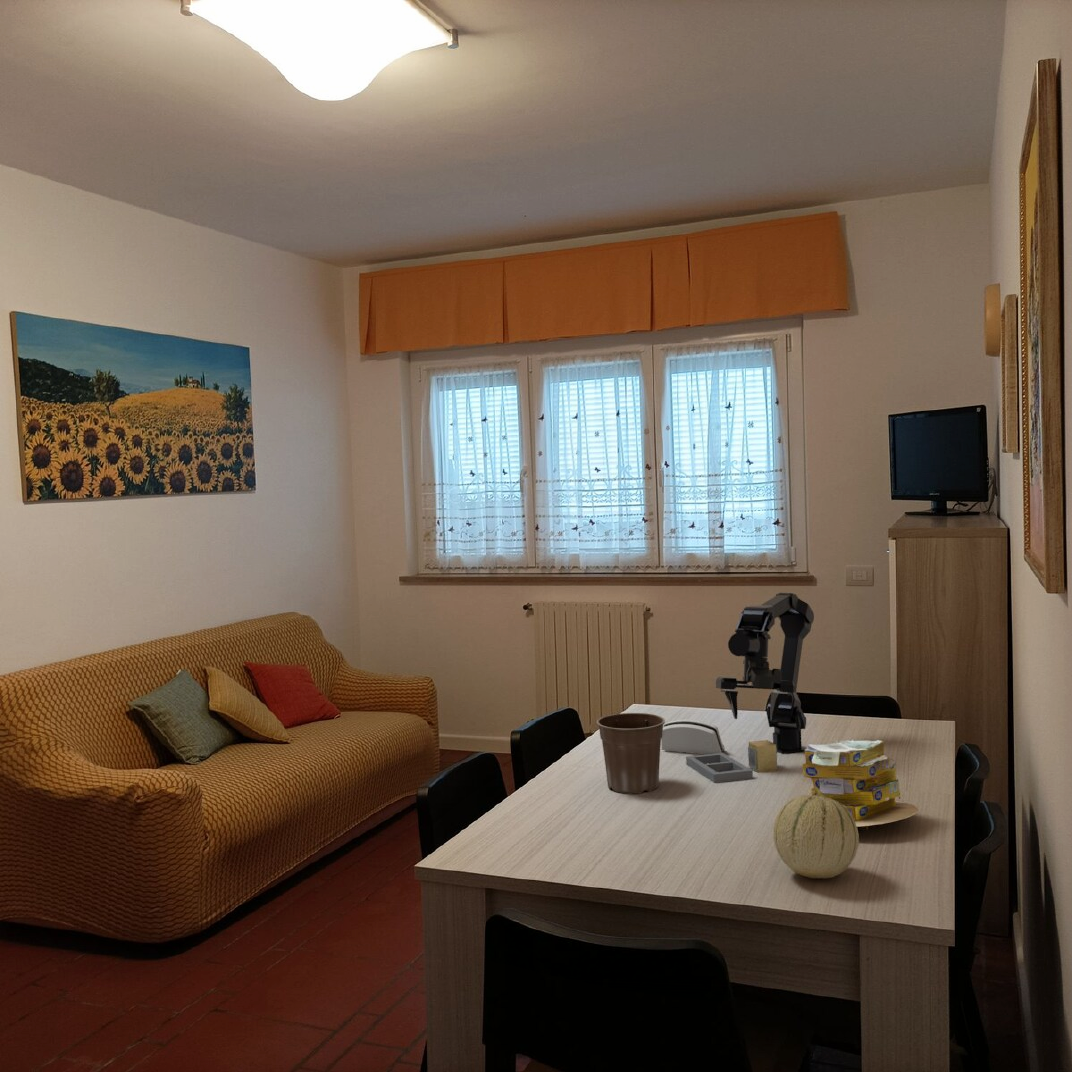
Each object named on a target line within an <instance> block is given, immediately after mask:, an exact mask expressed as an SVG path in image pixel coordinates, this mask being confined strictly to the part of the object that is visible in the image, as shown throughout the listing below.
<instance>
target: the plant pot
mask: <svg viewBox="0 0 1072 1072" xmlns="http://www.w3.org/2000/svg"><path fill="white" fill-rule="evenodd" d="M665 721H666V719H665V718H664V717H663V716H659V715H656V714H654V713H644V712H625V713H624V712H623V713H612V714H608V715H604V716H601V717H600V718H598V719H597V720H596V725H597V726H598V729H599V738H600V740H601V742H602V750H603V751H602V752H603V758H604V765H605V773H606V781H607V787H608V789H610V790H611V788H612V791H613V792H616V793H621V794H628V793H632V794H643V792H645V791H647V792H652V791H654V790H656V789H658V788H659V782H660V761H661V760H660V759H661V746H662V740H661V738H662V732H663V726H664V725H665V724H666V722H665Z"/></svg>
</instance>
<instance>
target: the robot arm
mask: <svg viewBox="0 0 1072 1072" xmlns="http://www.w3.org/2000/svg"><path fill="white" fill-rule="evenodd" d="M777 618H778V619H779V621H780V623H779V625H780V628H781V630H782V632H783V634H784V641H783V648H782V656H781V664H780V668H772V669H770V663H769V660H768V659H769V658H768V657H769V640H771V639H772V638H771V635H770V633H769V632H770V630H771V629H772V628H773V626H774V625H775V624H776V623H775V620H776V619H777ZM814 620H815V614H814V611H813V610H812V608H811V606H810V604H808V603H807V602H805V601H804V600H802V599H800V598H799V596H798V595H797V594H796V593H793V592H779V593H776V594H775V596H773V597H772V598H770V599H769V600H767V601H765V602H764V603H762V604H757V605H749V606H745V607H744V608H743V610H742V612H741V614H740V615H739V618H738V622H737V624H736V627H735V630H734V632H735V633H733V634H732V635H731V636H730V638H729V640H728V642H727V646H728V650H729V652H730V654H732V655H734V656H735V657H743V662H742V664H743V676H742V680H737V678H736V677H728V676H727V677H725V676H718V677H717V678H716V680H715V689H720V692H722V693H724V695H725V697H726V699H727V701H728V704H729V706H730V710H731V712H732V715H733V718H734V720H737V719H738V713H739V711H738V694H739V691H738V690H736V688H737V689H738V688H740V689H742V688H743V689H759V690H761V689H762V690H773V691H771V692H770V694H769V695H768V696H769V697H768V702H767V703H768V704H767V707H766V717H767V723H768V727H769V728H773V730H774V731H773V732H772V743H774V744H776V748H777V752H779V753H781V754H789V753H792V754H793V753H798V752H805V750H806V748H803V747H802V744H803V743H802V730H805V729H806V726H807V717H806V715H805V713H804V711H803V709H802V708H801V706H802V702H801V700H800V698H799V694H797V687H798V679H799V671H800V667H801V666H800V665H801V657H802V651H803V650H802V649H803V642H804V639H805V638H806V637H807V635H808V634H809V633H810V632H811V629H812V626H813V625H812V624H813V623H814Z"/></svg>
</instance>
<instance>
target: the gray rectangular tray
mask: <svg viewBox="0 0 1072 1072" xmlns="http://www.w3.org/2000/svg"><path fill="white" fill-rule="evenodd" d="M685 759H686V760H685V763H686V765H687V766H688V765H689V766H688V767H690V768H691V769H692V770H694V771H695V772H697V771H698V772H697V773H698V774H701V775H702V776H703V777H704V778H706V779H708V780H709V779H710V780H709V781H711V782H713V783H714V784H716V783H724V781H726V782H733V781H732V780H735V781H740V780H739V779H744V780H751V779H754V774H753V771H754V770H753V769H751V768H750V767H749V766H746V765H744V764H743V763H741V762H739V761H737V760H736V759H734V758H732V757H730V756H729V755H727V754H725V753H724V752H722V753H715V754H697V755H690V756H689V755H688V756H686V757H685ZM707 763H710V764H707ZM719 771H721V772H719Z"/></svg>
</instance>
